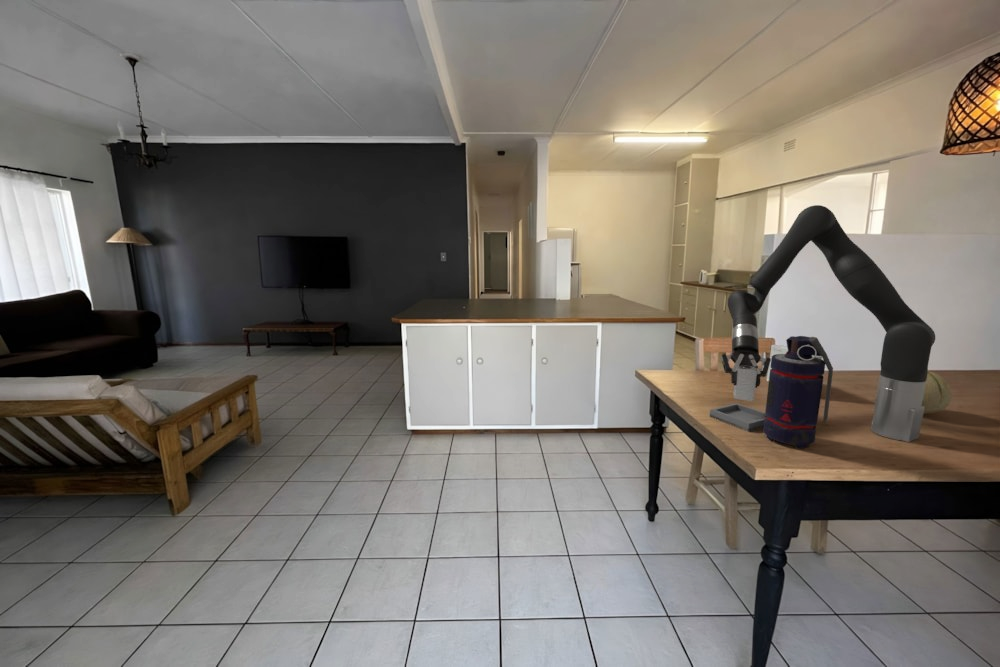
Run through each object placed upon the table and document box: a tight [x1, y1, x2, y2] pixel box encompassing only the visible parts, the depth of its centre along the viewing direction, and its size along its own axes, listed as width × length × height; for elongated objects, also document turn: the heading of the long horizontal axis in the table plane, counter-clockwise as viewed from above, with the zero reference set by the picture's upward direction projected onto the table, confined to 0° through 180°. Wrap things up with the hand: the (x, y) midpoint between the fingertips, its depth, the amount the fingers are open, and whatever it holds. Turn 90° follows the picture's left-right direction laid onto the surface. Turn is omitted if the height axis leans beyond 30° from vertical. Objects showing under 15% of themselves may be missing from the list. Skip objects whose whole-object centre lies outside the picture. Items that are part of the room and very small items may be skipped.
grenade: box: [763, 335, 834, 449], centre depth 108 cm, size 14×12×30 cm
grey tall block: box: [732, 365, 757, 402], centre depth 124 cm, size 5×5×10 cm
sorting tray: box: [709, 402, 766, 432], centre depth 126 cm, size 13×13×2 cm
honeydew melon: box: [921, 370, 953, 415], centre depth 129 cm, size 15×15×15 cm
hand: (745, 385), depth 122 cm, fingers closed on grey tall block, 5 cm apart
